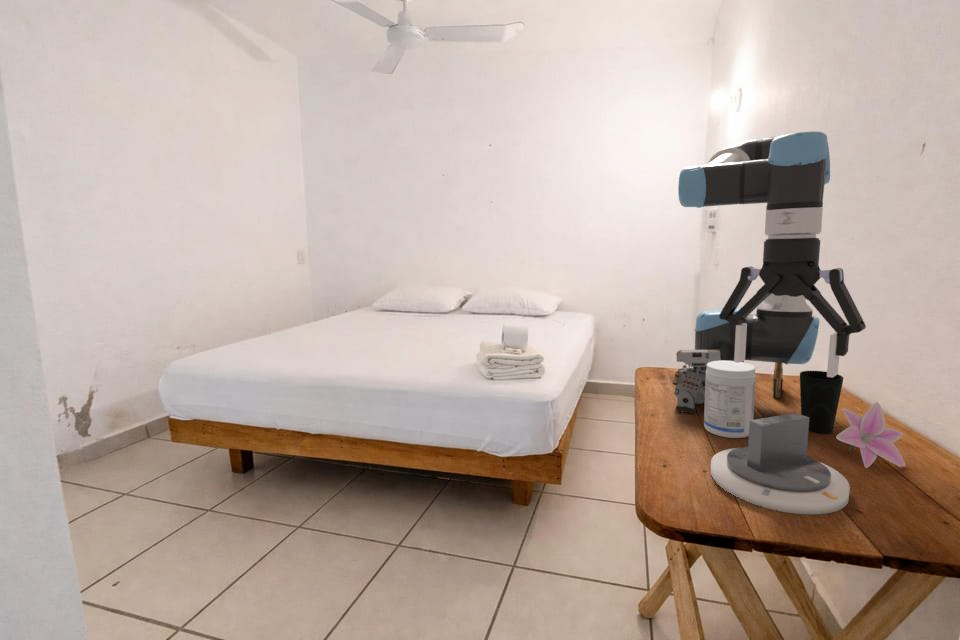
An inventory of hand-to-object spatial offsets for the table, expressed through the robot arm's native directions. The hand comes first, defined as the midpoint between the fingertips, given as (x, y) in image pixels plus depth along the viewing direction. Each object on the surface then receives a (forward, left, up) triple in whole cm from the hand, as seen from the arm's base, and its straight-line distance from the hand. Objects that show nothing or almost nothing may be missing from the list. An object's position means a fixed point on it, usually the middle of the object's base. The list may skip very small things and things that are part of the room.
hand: (783, 368), depth 81 cm
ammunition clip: (-56, -8, -20) cm, 60 cm away
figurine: (-31, -21, -20) cm, 42 cm away
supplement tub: (-20, -12, -20) cm, 31 cm away
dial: (0, 0, -18) cm, 18 cm away
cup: (-32, +3, -20) cm, 38 cm away
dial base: (0, 0, -20) cm, 20 cm away
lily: (-20, +12, -20) cm, 31 cm away
